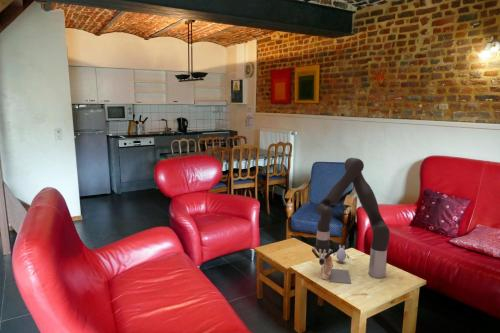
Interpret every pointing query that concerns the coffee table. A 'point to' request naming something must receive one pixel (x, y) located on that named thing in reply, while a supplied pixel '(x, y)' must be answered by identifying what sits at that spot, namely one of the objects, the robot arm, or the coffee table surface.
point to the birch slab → (327, 268)
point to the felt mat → (339, 276)
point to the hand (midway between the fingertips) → (321, 264)
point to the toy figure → (341, 254)
